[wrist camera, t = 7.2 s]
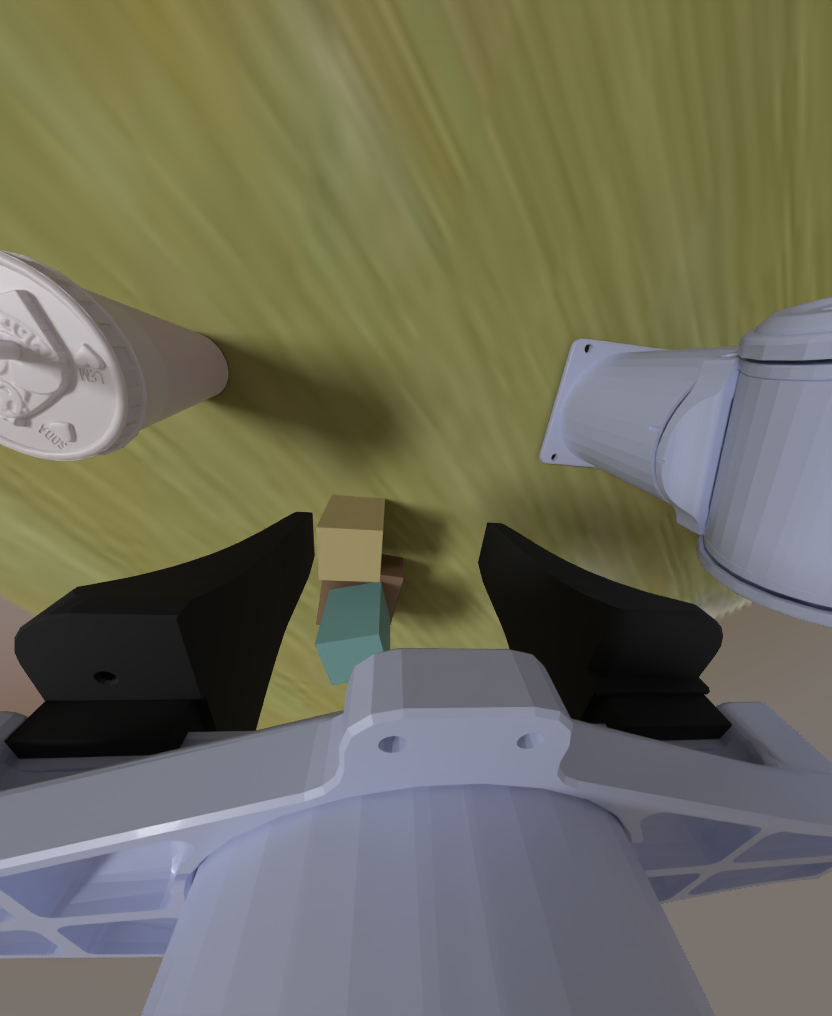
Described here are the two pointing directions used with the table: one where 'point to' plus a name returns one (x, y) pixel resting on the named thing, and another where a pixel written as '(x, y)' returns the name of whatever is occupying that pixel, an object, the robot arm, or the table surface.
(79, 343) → the smoothie
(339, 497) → the mustard block
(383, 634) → the teal block
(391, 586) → the walnut slab
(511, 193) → the table surface
